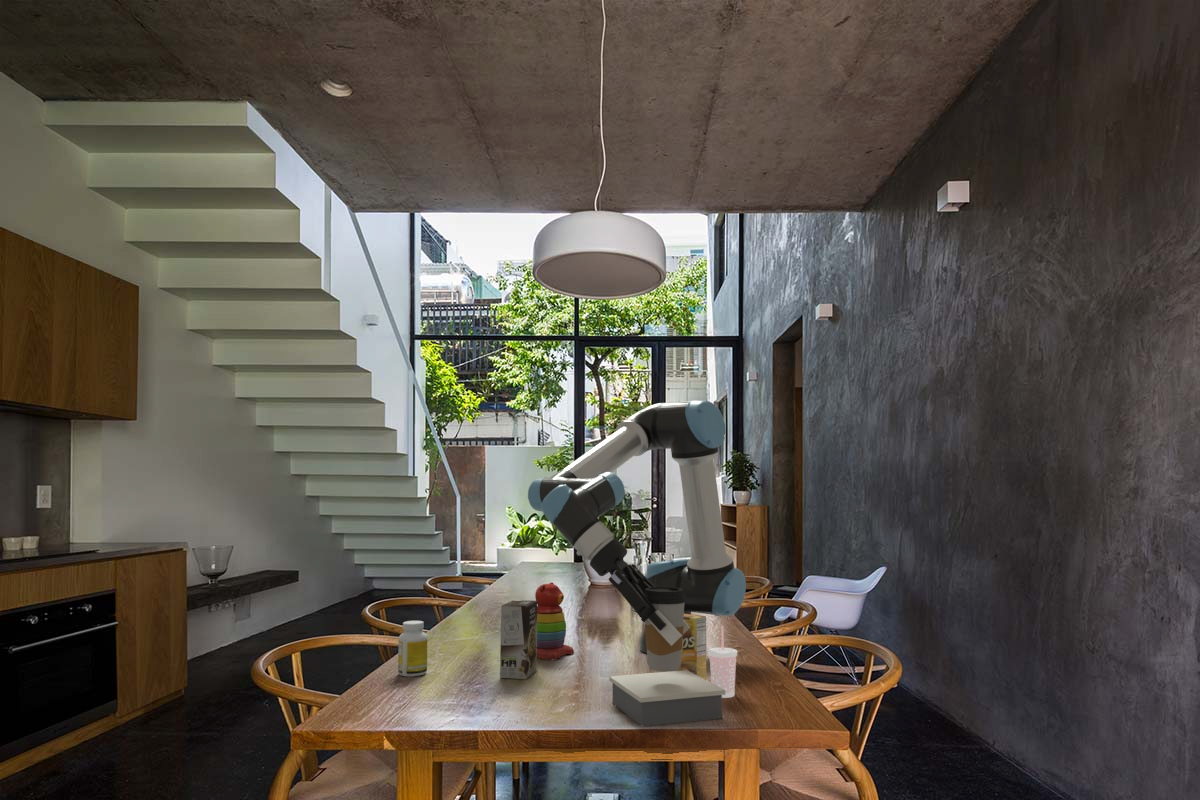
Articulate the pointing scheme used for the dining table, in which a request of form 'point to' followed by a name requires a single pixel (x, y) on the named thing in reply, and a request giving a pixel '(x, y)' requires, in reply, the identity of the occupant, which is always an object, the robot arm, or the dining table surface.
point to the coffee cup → (658, 648)
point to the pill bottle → (412, 650)
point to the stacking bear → (550, 623)
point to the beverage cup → (723, 667)
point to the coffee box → (518, 639)
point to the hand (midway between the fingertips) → (681, 636)
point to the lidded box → (667, 697)
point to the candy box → (694, 646)
